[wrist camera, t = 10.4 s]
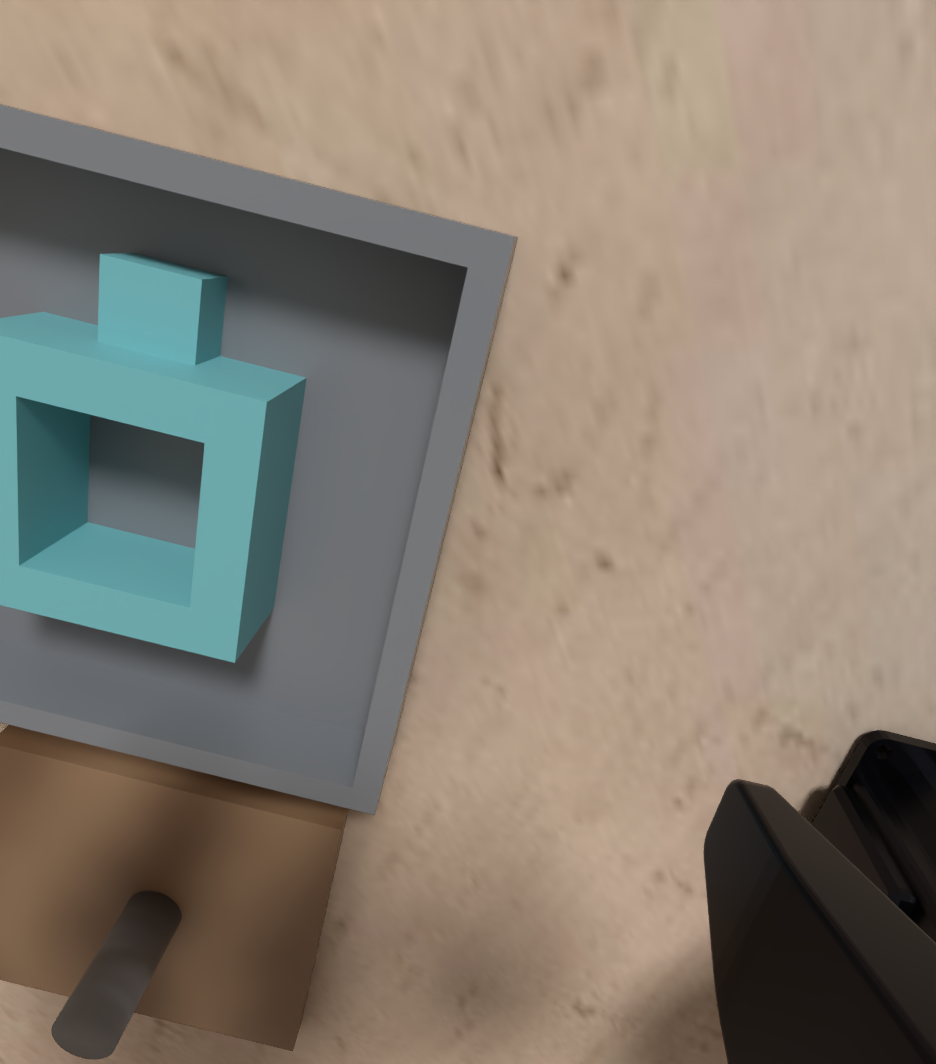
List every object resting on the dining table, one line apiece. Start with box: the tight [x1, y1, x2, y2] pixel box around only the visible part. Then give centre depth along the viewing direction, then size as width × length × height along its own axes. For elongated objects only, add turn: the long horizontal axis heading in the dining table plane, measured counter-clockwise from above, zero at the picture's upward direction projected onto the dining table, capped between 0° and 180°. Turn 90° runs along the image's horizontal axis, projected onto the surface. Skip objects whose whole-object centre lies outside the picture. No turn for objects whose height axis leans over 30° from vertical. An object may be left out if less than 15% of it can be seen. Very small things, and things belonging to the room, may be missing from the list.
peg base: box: [0, 725, 348, 1059], centre depth 25 cm, size 12×12×6 cm
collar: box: [0, 253, 307, 663], centre depth 18 cm, size 7×9×3 cm
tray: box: [0, 104, 518, 815], centre depth 19 cm, size 16×16×3 cm
